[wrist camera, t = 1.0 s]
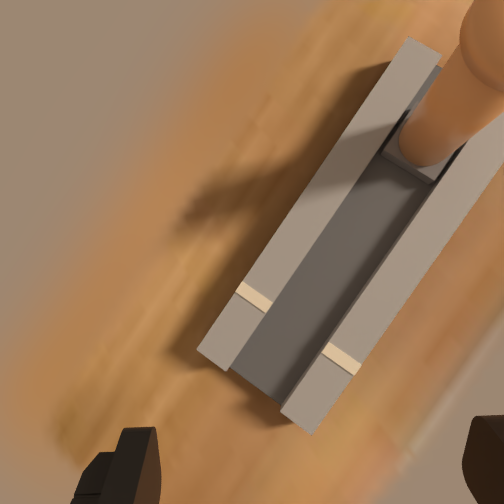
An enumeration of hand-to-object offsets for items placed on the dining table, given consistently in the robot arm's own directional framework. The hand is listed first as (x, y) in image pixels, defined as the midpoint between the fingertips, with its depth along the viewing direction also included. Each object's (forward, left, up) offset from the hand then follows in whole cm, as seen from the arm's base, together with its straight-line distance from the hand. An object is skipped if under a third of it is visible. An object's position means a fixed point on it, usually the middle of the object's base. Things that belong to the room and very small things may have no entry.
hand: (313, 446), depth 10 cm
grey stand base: (-7, +3, -18) cm, 19 cm away
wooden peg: (-12, +7, -16) cm, 22 cm away
